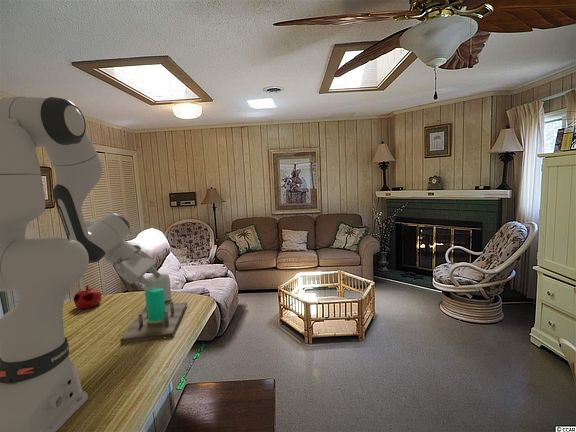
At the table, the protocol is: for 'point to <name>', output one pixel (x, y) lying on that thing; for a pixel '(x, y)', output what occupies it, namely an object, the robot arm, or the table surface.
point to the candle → (155, 304)
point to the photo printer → (160, 285)
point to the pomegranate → (87, 298)
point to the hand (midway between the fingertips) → (155, 280)
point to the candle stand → (154, 324)
